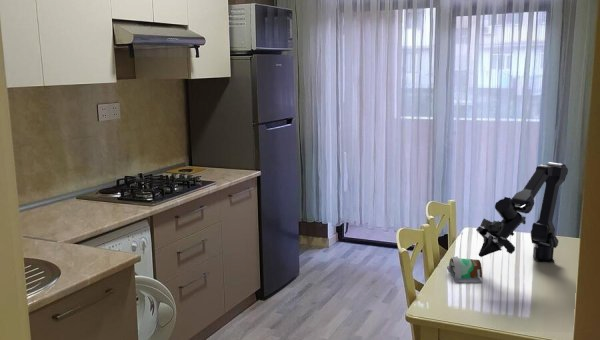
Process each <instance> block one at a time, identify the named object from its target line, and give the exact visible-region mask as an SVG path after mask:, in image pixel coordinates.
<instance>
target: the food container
mask: <svg viewBox="0 0 600 340" xmlns="http://www.w3.org/2000/svg"><path fill="white" fill-rule="evenodd" d="M448 266H449V268H452V269H453V273H454V274H455V278H457V279H461V278H480V279H482V278H483V267H482V263H481V260H480V259H471V258H463V257H462V258H459V257H458V256H453V257H450V259H449V263H448Z"/></svg>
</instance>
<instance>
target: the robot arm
mask: <svg viewBox="0 0 600 340" xmlns="http://www.w3.org/2000/svg"><path fill="white" fill-rule="evenodd" d="M568 173H569V168H568V167H567V165H566V164H565V163H559V162H551V161H549V162H547V163H546V164H542V163H541V164H538V165H536V168H535V171H534V172H533V174H532V176H531V177H530V178H529V180H528V182H526V185H525V186H524V188H523V189H522V190H520V191H518V192H516V193H515V194H514V195H513V197H509V196H504V198H501V199H499V200H498V201H497V202H495V203H494V204H495V205H494V210H496V212H497V214H498V215H499V216H500V218H502V220H500V221H499V220H497V221H496V220H493V221H491V220H488V219H486V218H483V219H482V221H481V224H480V226H479V225H478V227H477V228H476V232H477V233H478V234H479V235H480V236H481V237H482V238H483V243H482V246H481V248H480V250H479V252H478V256H479V257H480V258H482V257H485V256H487V255H490V254H493V253H496V252H498V251H502V250H503V249H502V248H503V247H504V249H506V252H507V253H508V254H510V255H512V254H513V253H514V252H515V250H516V247H515V245H514V244H513V243H512V242H511V241H510V240H509V239H508V238H509V237H510V236H512V237H513V236H514V235H515V233H514V232H515V231H516V229H517V228H518V227H519V226H520V225H521V224H523V225H525V224H526V218H527V217H526V216H524V215H522V214H530V213H531V211H533V208H534V207H535V198H536V196H537V194H538V193H539V192H540V190H541V188H542V187H543V185H545V188H544V192H543V198H542V203H541V209H540V212H539V218H538V219H537V221H536V222H533V223H532V226H531V230H530V238H531V244H534V247H533V254H532V257H533V258H534V259H535V260H536V261H537V262H538V263H539V262H543V263H546V262H547V263H548V262H549V263H550V262H551V263H554V262H555V259H554V251H555V250H554V249H557V247H558V246H559V239H558V238H557V236H556V228H555V226H554V223H553V218H554V214H555V209H556V206H557V205H556V204H557V199H558V194H559V188H560V187H561V185H562V184H563V183H564V182H565V181H566V178H567V176H568ZM521 213H522V214H521Z"/></svg>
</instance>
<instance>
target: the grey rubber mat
mask: <svg viewBox="0 0 600 340" xmlns="http://www.w3.org/2000/svg"><path fill="white" fill-rule="evenodd" d="M446 269H447V270H448V272H449V274H450V276H451V277H453V278H452V279H453V281H454V283H455V284H483V280H482V278H461V279H457V278H455V274H454V273H453V269H452V268H449V265H447V266H446Z"/></svg>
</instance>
